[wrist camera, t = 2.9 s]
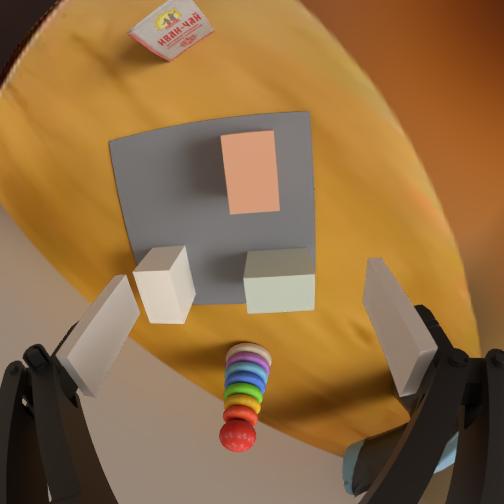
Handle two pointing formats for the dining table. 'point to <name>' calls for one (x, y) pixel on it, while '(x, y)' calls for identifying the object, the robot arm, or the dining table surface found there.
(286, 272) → the sage brick
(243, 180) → the terracotta brick
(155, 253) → the cream brick
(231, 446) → the stacking toy
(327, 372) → the dining table surface
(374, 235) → the dining table surface
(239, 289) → the charcoal mat
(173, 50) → the ivan-chai tea box
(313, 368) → the dining table surface
